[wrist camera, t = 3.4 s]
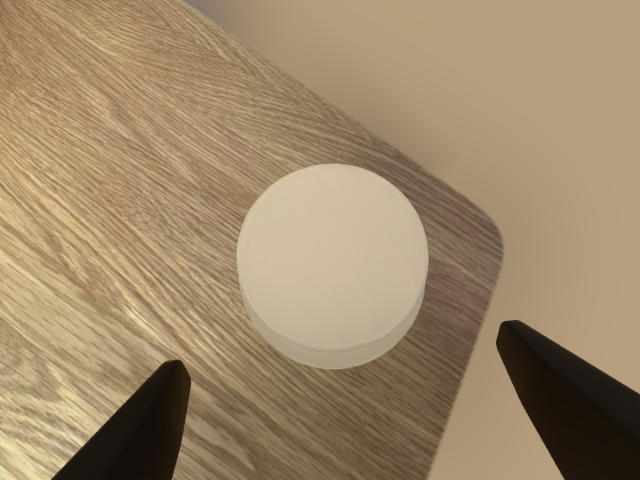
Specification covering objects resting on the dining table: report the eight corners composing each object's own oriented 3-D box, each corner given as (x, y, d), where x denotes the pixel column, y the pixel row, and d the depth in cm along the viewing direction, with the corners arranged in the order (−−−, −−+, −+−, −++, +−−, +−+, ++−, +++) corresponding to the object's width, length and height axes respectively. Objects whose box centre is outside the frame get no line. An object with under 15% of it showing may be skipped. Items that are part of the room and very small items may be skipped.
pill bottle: (259, 274, 19) (150, 215, 8) (345, 217, 20) (361, 87, 8) (317, 369, 18) (286, 463, 6) (408, 305, 18) (528, 287, 7)
